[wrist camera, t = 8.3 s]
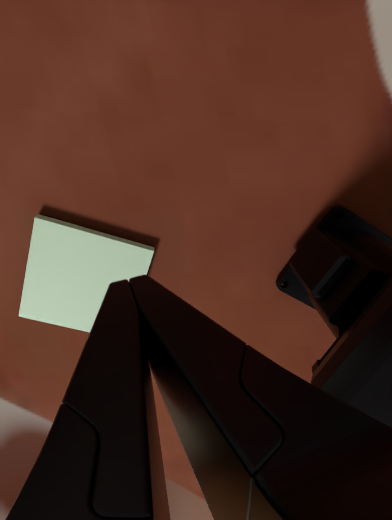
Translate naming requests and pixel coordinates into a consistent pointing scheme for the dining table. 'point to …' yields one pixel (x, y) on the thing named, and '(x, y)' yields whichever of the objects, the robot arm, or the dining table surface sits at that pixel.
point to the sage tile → (75, 271)
